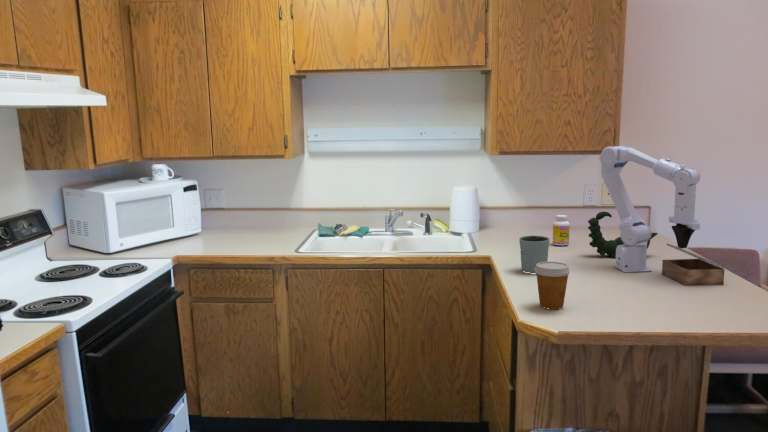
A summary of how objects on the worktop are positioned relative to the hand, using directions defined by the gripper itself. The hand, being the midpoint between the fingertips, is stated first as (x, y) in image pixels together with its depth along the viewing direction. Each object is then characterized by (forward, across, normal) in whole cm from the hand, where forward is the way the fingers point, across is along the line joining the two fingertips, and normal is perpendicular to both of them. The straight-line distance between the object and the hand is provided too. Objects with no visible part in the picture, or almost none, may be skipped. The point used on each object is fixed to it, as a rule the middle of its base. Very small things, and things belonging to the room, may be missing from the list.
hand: (682, 247), depth 173 cm
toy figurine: (+10, +32, +5) cm, 34 cm away
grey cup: (+10, +14, +44) cm, 47 cm away
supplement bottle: (+10, +55, +21) cm, 60 cm away
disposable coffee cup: (+10, -24, +50) cm, 56 cm away
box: (+10, -1, -3) cm, 11 cm away
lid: (+3, -1, -3) cm, 4 cm away
